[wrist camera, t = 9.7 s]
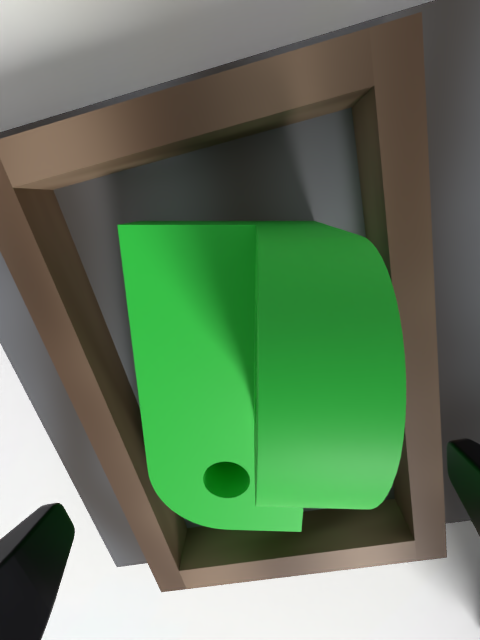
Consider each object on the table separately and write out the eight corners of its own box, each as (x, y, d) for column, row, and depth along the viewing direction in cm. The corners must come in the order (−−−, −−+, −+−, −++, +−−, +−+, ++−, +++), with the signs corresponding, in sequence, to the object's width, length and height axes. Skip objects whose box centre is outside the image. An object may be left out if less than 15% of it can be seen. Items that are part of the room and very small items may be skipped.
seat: (495, -10, 9) (579, -83, 7) (489, 505, 16) (532, 560, 13) (-78, 163, 12) (-166, 153, 9) (121, 555, 18) (100, 611, 16)
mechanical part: (139, 221, 11) (-77, 259, 4) (314, 220, 11) (440, 261, 4) (166, 487, 15) (85, 758, 8) (295, 491, 15) (336, 772, 8)
